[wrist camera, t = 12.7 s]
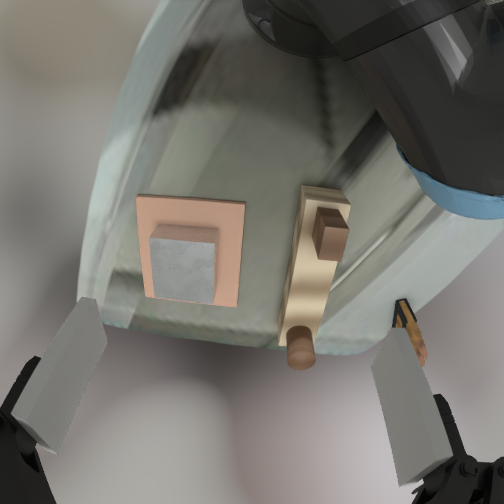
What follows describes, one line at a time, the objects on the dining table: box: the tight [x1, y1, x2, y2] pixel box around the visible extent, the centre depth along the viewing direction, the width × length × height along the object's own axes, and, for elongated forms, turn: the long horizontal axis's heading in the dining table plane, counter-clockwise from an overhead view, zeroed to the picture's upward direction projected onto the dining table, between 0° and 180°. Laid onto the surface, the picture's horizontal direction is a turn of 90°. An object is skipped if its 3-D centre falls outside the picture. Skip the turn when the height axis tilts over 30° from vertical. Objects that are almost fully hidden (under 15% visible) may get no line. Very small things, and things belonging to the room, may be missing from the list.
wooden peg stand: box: [278, 185, 351, 370], centre depth 38 cm, size 22×5×10 cm, turn 175°
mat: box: [136, 195, 246, 307], centre depth 42 cm, size 16×14×1 cm
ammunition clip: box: [392, 299, 427, 366], centre depth 42 cm, size 11×2×12 cm, turn 10°
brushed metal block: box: [149, 224, 219, 304], centre depth 40 cm, size 9×8×4 cm
